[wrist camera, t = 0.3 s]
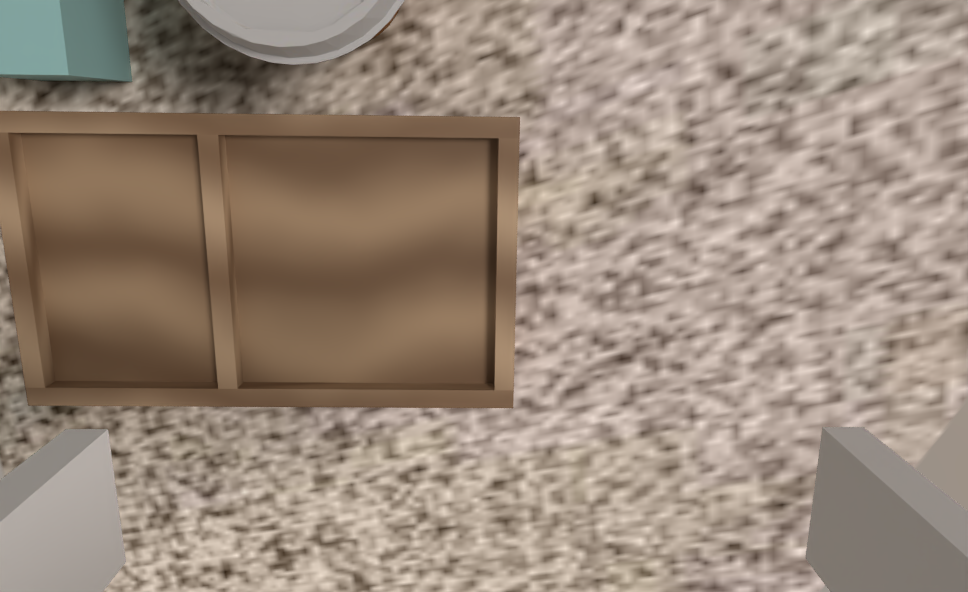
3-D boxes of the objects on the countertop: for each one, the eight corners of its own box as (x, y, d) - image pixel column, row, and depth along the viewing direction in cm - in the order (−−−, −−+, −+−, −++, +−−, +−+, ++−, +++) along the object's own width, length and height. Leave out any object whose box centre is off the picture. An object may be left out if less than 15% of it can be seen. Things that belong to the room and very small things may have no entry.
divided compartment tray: (15, 111, 36) (-17, 110, 34) (516, 117, 37) (519, 117, 34) (55, 388, 40) (28, 405, 38) (510, 390, 41) (513, 408, 38)
